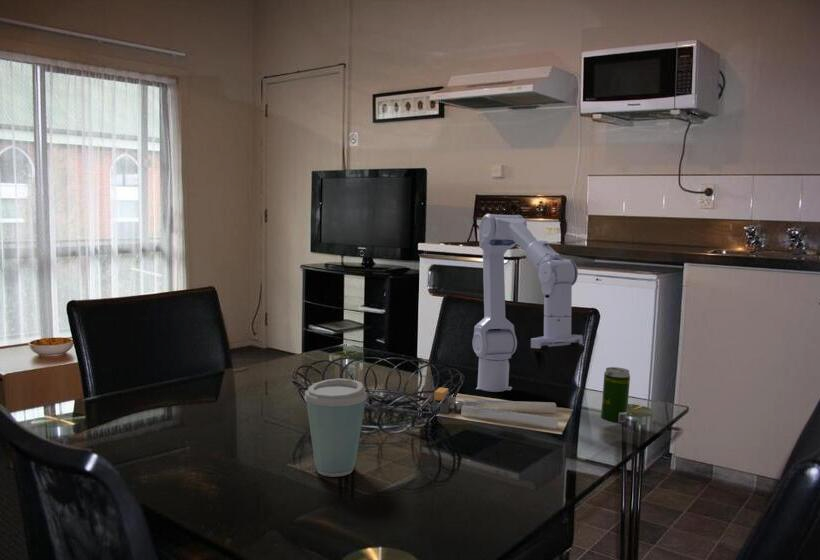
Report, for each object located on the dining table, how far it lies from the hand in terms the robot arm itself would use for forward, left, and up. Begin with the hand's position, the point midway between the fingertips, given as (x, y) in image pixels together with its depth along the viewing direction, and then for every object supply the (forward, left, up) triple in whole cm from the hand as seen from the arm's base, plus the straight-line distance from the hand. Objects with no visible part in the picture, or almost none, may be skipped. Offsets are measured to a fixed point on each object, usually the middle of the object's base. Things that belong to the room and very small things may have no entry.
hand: (557, 379), depth 151 cm
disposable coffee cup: (+43, -31, -10) cm, 55 cm away
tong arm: (0, -11, -9) cm, 14 cm away
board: (0, -11, -10) cm, 15 cm away
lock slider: (+5, -24, -6) cm, 25 cm away
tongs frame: (+5, -12, -9) cm, 15 cm away
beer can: (-7, +12, -10) cm, 17 cm away
